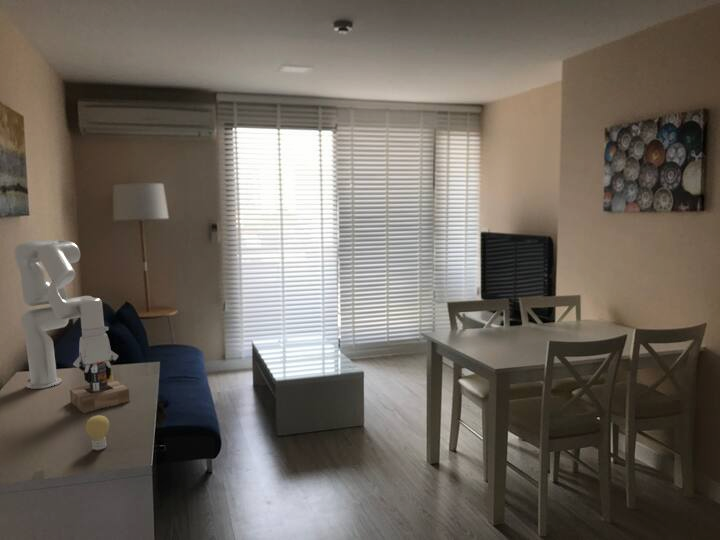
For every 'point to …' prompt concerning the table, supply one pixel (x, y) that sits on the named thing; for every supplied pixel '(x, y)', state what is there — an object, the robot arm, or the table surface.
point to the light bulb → (97, 431)
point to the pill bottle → (98, 377)
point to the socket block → (99, 396)
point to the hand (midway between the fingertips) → (98, 379)
